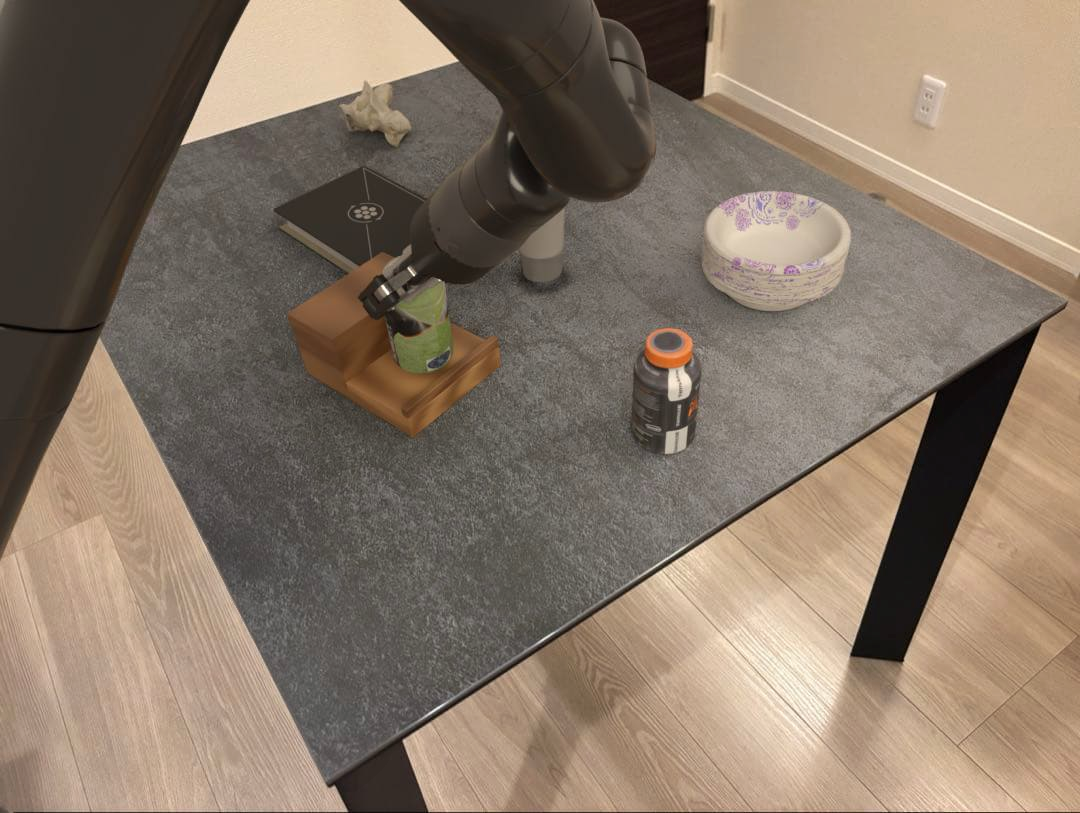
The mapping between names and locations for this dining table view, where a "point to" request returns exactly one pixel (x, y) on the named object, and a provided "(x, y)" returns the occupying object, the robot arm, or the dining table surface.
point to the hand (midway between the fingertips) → (397, 291)
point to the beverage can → (421, 330)
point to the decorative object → (376, 114)
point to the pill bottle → (666, 392)
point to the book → (353, 218)
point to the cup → (544, 251)
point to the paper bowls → (775, 249)
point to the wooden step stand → (382, 355)
